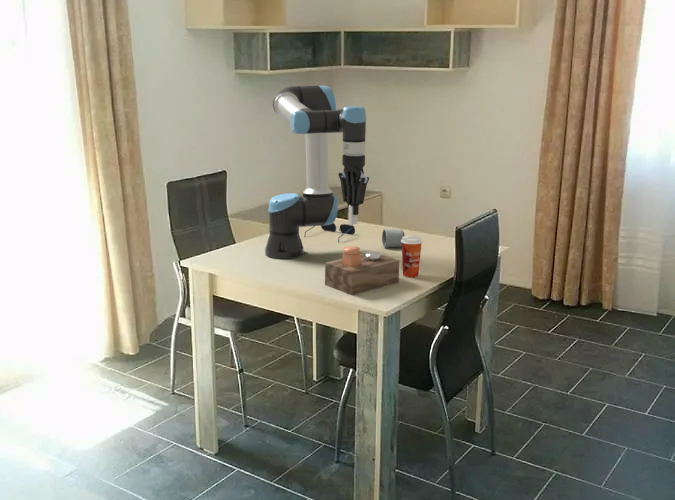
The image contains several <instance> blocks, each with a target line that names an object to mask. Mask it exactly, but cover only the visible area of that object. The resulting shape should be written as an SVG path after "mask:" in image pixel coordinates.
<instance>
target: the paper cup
mask: <svg viewBox="0 0 675 500" xmlns="http://www.w3.org/2000/svg"><path fill="white" fill-rule="evenodd" d="M401 242H402V247H401V258H402V259H401V261H402V263H401V264H402V265H401V266H402V275H403V276H402V277H405V278H412V279H413V278H417V277H419V273H420V265H421V264H420V263H421V254H422V253H421V252H422V244H423V239H422V237H420V236H417V235H405V236H404V237H403V238H402V240H401Z"/></svg>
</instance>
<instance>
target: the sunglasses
mask: <svg viewBox="0 0 675 500" xmlns="http://www.w3.org/2000/svg"><path fill="white" fill-rule="evenodd" d="M315 227H316V226H311V227H310V228H309V229H307V230H305V232H304V237H303V238H306V234H307V232H308V231H310V230H312V229H313V228H315ZM320 228H321V230H323V231H326V232H332V233H334V232H337V228H338V230H339V232H341V233H342V234H341V235H339V236H338V239H337V242H338V244H339V243H340V238H341V237H343V236H345V235H352V236H353V235H354V234H355V233H356V228H355V226H354V225H350V224H349V223H348V224H347V223H345V224H344V223H341V224H340V225H336V224H335V223H334V222H333V223H332V224H331V225H324V226H320Z"/></svg>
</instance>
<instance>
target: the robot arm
mask: <svg viewBox="0 0 675 500" xmlns="http://www.w3.org/2000/svg"><path fill="white" fill-rule="evenodd" d="M336 103H337V101H336V97H335V94H334V92H333V90H332V88H331V87H330V86H327V85H320V84H319V85H290V86H286V87H283V88H282V89H280V90H279V91H277V92H276V94H275V96H274V97H273V99H272V109H273V111H274V112H275V114H276V115H277V116H279V117H281V118H282V119H287V120H288V121H289V122H290V123H289V125H290V129H291V132H292V133H293V134H296V135H305V168H306V170H305V172H306V176H305V178H306V188H305V190H303V191H302V197H300V196H299V194H298V193H294V192H293V193H292V192H291V193H282V194H281V193H280V194H278V195H275V196H273V197H271V198H270V200H269V202H268V224H269V225H268V226H269V227H268V228H269V229H268V230H269V232H268V233H269V234H268V238H267V242H266V246H265V249H264V251H265V253H264V254H265V256H267V257H268V258H272V259H281V260H282V259H284V260H286V259H295V258H299V257H301V256H303V255H304V254H305V253H304V252H305V251H304V250H305V249H304V245H303V242H302V238H301V236H300V228H305V227H306V228H307V227H313V226H315V227H317V226H319V227H321V226H324V225H331V224H332V223H333V224H334V222H335V221H336V218H337V216H338V215H337V214H338V209H339V203H338V199H337V196H336V195H335V194H334V193H333V190H331V188H330V187H329V186H330V185H329V143H328V142H329V141H328V138H329V136H328V134H333V133H335V134H336V133H339V134H340V133H342V153H343V154H342V160H341V161H342V162H341V163H342V166H343V171H342V172H339V173H338V174H337V175H338V177H339V180H340V188H341V193H342V194H341V195H342V200H343V202H344V203H346V204H347V214H348V224H349V225H351V226H354V225H356V224H358V220H359V219H358V215H359V209H360V208H359V206H360V205H363V204H364V201H365V196H366V190H367V187H368V186H367V185H368V183H369V181H370V178H369V176H366V175H365V172H364V167H365V165H366V155H365V153H366V132H367V131H366V130H367V129H366V128H367V127H366V126H367V125H366V124H367V123H366V122H367V113H366V108H365V107H364V106H359V105H348V106H344V107H343V108H339V109H338V108H337V104H336Z"/></svg>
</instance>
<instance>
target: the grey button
mask: <svg viewBox="0 0 675 500" xmlns="http://www.w3.org/2000/svg"><path fill="white" fill-rule="evenodd" d="M381 255H382V253H381V252H378V251H367V252H365V258H364V259H366V260H369V261H372V262H374V261H378V260H382V259H381Z"/></svg>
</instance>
